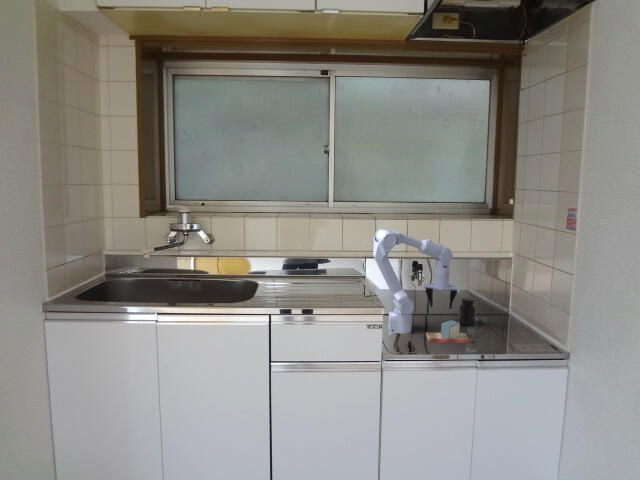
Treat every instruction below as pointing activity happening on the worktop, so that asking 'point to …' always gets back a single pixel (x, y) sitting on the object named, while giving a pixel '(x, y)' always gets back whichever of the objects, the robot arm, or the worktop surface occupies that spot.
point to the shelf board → (437, 338)
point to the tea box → (450, 329)
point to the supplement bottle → (467, 312)
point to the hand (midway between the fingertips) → (440, 307)
